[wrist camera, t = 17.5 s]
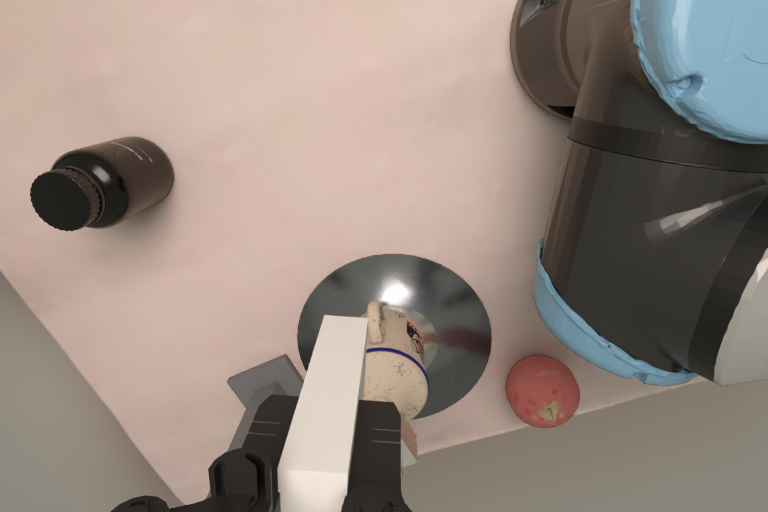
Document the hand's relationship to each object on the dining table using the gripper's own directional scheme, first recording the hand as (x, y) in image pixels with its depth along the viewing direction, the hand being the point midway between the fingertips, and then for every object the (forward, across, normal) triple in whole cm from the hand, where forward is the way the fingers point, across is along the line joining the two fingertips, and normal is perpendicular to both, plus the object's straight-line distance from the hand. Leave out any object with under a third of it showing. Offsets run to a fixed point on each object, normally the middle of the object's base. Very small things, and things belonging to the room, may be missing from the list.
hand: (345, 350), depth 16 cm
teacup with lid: (+32, +1, -19) cm, 37 cm away
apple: (+33, +19, -23) cm, 44 cm away
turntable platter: (+32, +3, -20) cm, 38 cm away
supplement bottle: (+33, -24, -2) cm, 41 cm away
